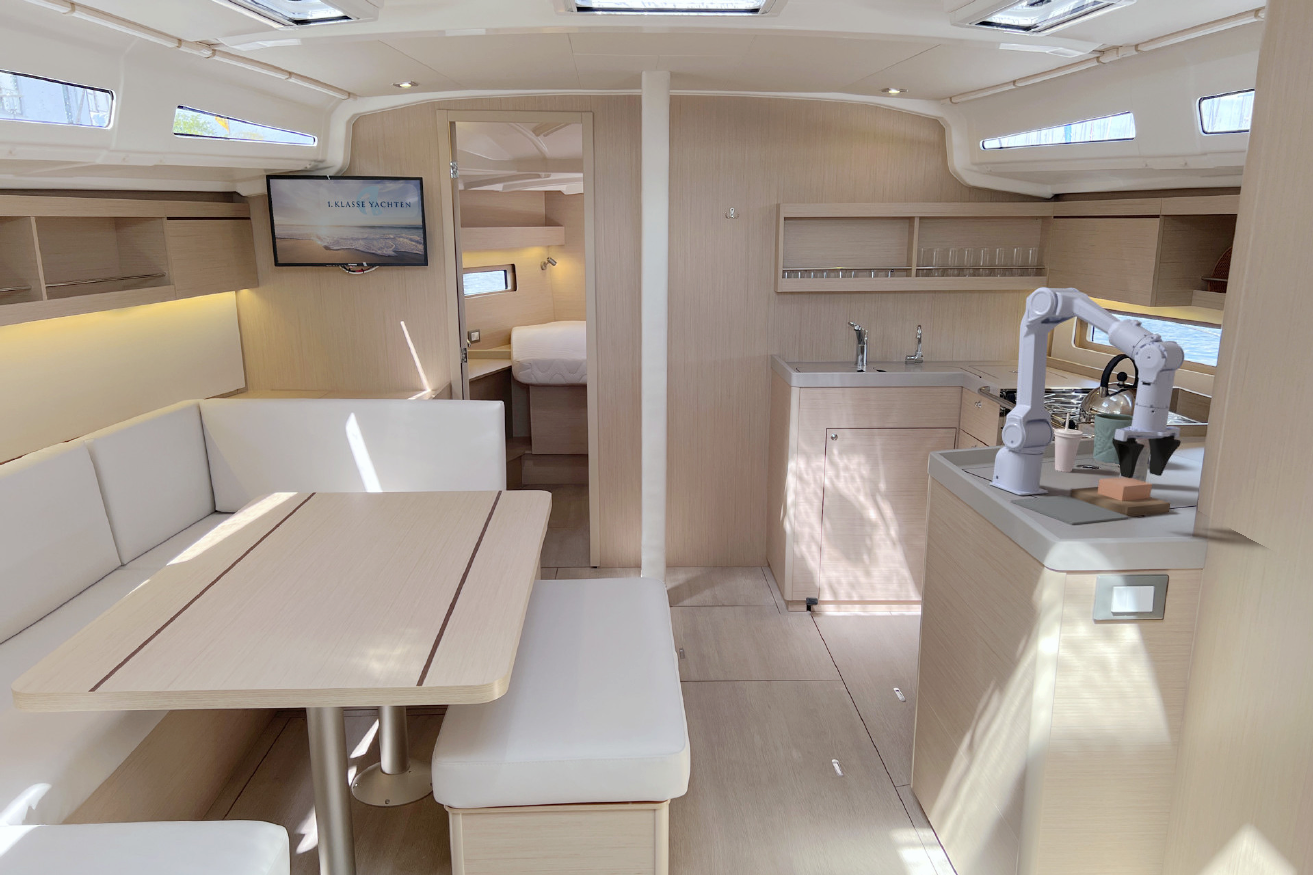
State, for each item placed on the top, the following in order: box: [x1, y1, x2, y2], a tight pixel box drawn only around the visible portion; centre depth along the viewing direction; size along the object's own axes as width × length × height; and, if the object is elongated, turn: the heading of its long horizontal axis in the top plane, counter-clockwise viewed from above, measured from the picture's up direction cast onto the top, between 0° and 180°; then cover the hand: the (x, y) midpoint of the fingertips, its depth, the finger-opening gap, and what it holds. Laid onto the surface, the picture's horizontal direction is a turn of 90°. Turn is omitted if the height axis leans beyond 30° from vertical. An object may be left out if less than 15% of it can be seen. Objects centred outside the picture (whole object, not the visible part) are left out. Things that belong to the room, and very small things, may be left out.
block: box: [1097, 476, 1153, 501], centre depth 185 cm, size 6×8×3 cm
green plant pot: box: [1092, 412, 1133, 464], centre depth 223 cm, size 10×10×12 cm
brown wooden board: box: [1069, 486, 1171, 518], centre depth 185 cm, size 14×12×2 cm
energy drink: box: [1118, 439, 1150, 482], centre depth 201 cm, size 5×5×12 cm
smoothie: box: [1053, 412, 1084, 473], centre depth 213 cm, size 6×6×14 cm
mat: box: [1010, 494, 1130, 526], centre depth 180 cm, size 16×15×1 cm
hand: (1140, 475), depth 169 cm, fingers open, 7 cm apart
